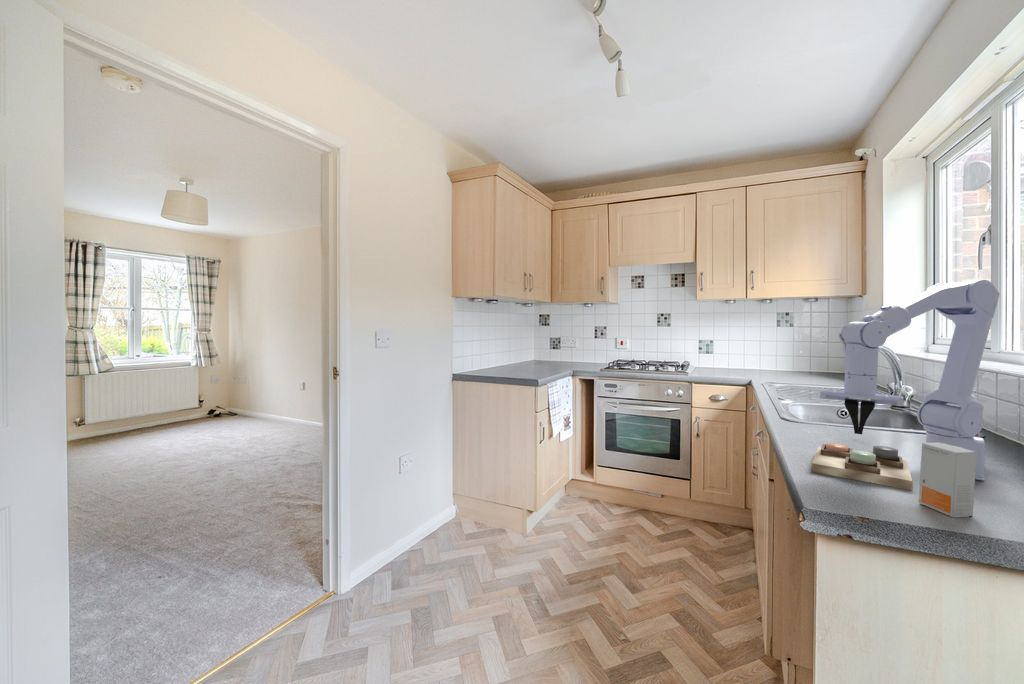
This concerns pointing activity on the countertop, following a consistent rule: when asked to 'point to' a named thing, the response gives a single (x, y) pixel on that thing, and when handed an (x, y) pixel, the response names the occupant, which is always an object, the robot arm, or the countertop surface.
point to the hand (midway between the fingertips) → (858, 433)
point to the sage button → (862, 457)
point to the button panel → (863, 468)
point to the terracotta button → (837, 447)
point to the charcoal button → (885, 452)
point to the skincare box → (947, 479)
